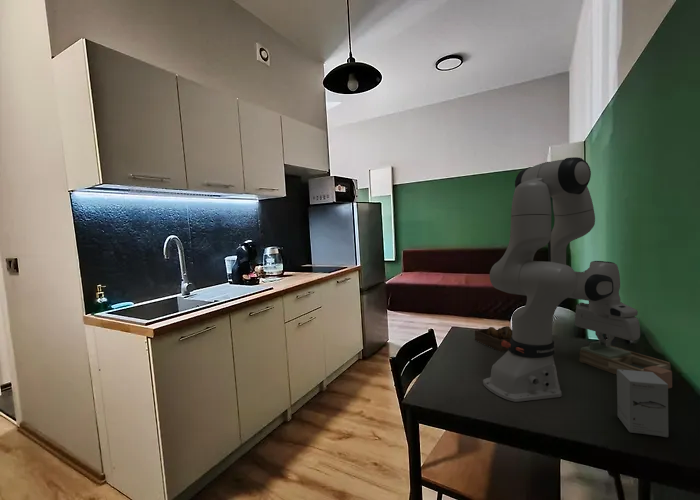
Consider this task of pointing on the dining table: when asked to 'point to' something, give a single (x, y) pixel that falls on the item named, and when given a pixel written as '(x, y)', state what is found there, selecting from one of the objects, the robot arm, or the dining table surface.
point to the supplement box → (642, 402)
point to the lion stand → (490, 340)
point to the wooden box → (622, 362)
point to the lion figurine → (500, 332)
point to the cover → (605, 350)
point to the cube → (661, 374)
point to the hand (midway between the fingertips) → (605, 345)
